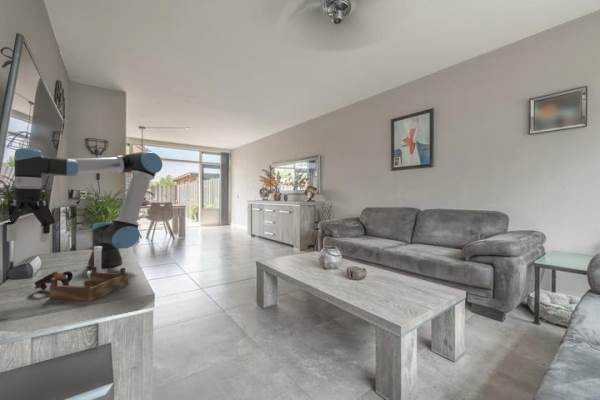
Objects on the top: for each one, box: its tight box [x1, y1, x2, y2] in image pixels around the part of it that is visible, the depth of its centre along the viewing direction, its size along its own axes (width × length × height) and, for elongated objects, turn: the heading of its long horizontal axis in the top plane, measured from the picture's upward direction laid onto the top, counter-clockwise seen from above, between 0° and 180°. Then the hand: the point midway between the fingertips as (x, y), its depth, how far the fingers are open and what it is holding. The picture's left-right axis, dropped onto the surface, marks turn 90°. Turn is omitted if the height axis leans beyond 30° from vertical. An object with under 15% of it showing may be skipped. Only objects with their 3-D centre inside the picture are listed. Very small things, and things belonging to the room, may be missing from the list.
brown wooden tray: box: [49, 267, 129, 302], centre depth 103 cm, size 18×16×7 cm
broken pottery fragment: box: [33, 270, 74, 290], centre depth 104 cm, size 12×10×8 cm
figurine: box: [86, 246, 109, 280], centre depth 116 cm, size 7×9×15 cm
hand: (27, 241), depth 104 cm, fingers open, 13 cm apart
